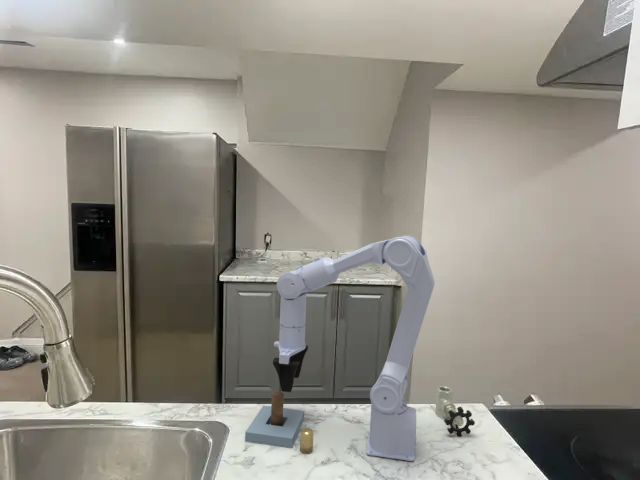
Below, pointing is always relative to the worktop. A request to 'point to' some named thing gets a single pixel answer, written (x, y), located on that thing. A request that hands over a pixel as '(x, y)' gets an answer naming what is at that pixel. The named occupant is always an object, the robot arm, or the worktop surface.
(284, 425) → the hole plate
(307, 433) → the brass pin
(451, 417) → the valve
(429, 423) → the worktop surface
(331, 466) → the worktop surface
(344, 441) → the worktop surface
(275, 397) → the walnut pin
